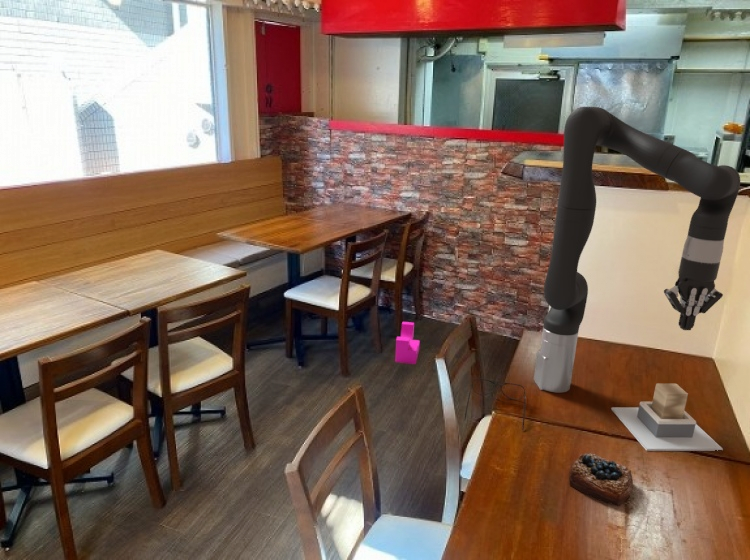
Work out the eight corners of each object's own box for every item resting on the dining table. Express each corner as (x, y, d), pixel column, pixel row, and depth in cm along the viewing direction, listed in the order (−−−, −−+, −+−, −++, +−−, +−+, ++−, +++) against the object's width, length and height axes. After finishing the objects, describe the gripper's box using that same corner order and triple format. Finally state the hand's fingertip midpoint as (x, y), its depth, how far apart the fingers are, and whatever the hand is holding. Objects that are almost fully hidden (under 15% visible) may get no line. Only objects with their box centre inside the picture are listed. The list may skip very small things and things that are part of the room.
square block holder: (646, 450, 126) (650, 432, 124) (611, 409, 143) (614, 392, 141) (722, 450, 126) (727, 432, 125) (678, 409, 144) (682, 392, 142)
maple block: (661, 419, 131) (667, 393, 129) (651, 408, 136) (656, 383, 133) (682, 419, 131) (688, 393, 129) (670, 408, 136) (676, 383, 134)
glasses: (524, 401, 146) (526, 385, 144) (522, 436, 132) (524, 419, 131) (470, 392, 149) (471, 377, 147) (463, 426, 136) (465, 409, 134)
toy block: (415, 364, 165) (416, 341, 163) (395, 362, 166) (396, 339, 164) (420, 344, 179) (421, 323, 177) (401, 342, 180) (402, 321, 178)
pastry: (579, 461, 122) (583, 438, 120) (637, 484, 115) (642, 460, 113) (562, 486, 113) (566, 462, 111) (623, 513, 106) (628, 487, 105)
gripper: (681, 261, 117) (666, 335, 123) (741, 262, 118) (723, 336, 123) (663, 252, 124) (649, 322, 130) (719, 253, 125) (703, 323, 130)
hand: (685, 328), depth 126 cm, fingers closed
